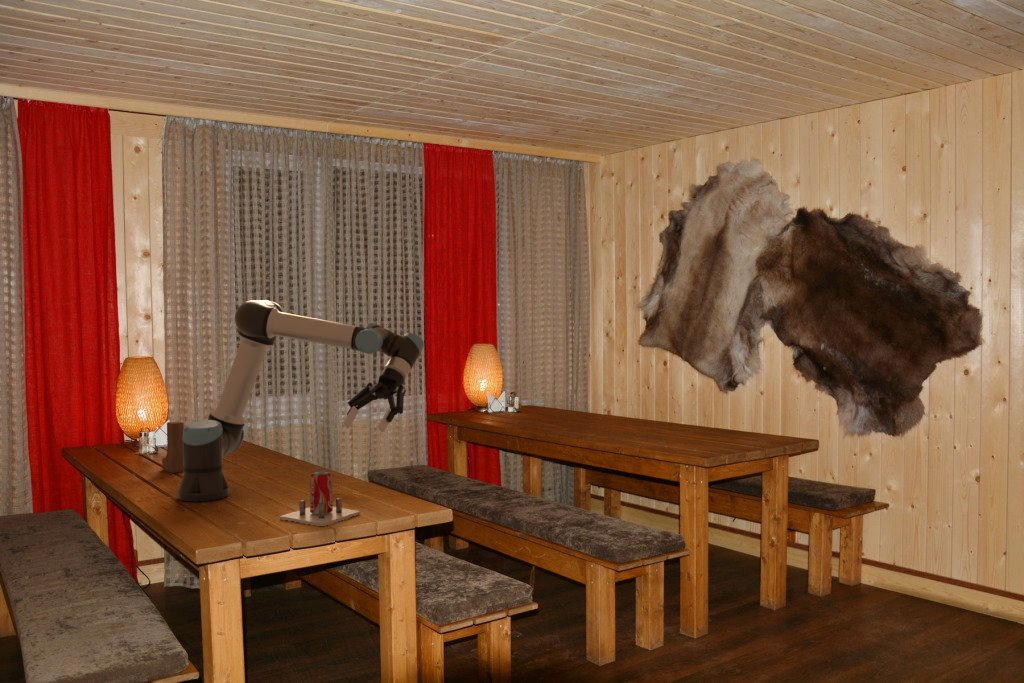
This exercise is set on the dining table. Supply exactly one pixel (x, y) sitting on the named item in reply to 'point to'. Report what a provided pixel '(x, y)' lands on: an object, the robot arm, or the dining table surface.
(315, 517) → the base plate
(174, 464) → the wooden block
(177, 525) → the dining table surface
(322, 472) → the soda can
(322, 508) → the standoff pins
